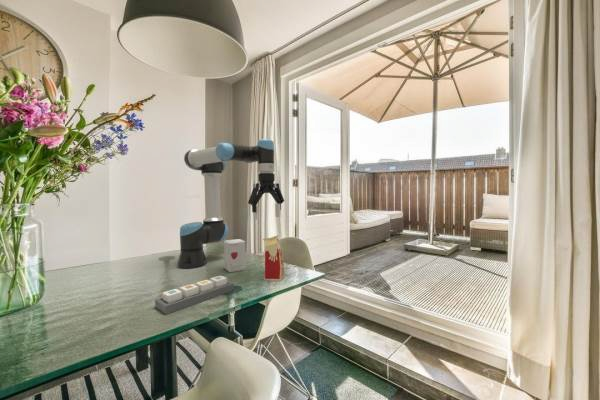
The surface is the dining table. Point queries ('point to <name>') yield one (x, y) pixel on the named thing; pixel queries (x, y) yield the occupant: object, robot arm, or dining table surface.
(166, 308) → the keypad
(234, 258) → the supplement box
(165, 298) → the key teal
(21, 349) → the dining table surface
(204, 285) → the key ochre
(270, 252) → the milk carton
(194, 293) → the key rust
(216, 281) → the key slate
